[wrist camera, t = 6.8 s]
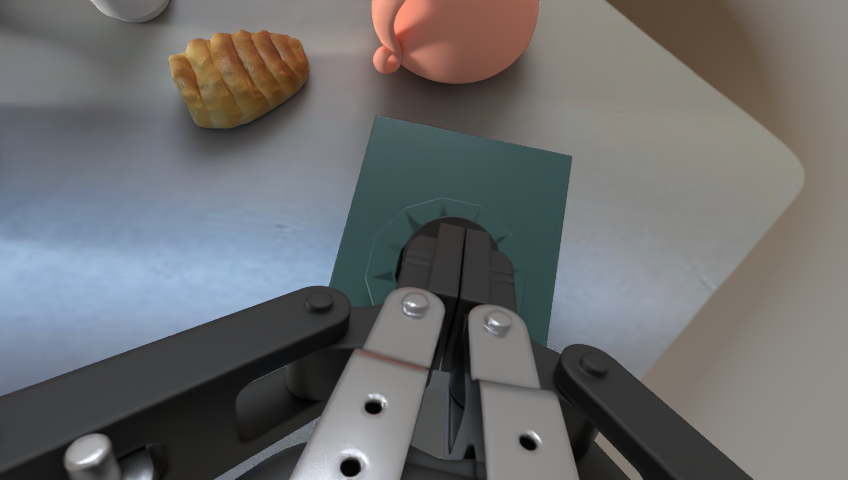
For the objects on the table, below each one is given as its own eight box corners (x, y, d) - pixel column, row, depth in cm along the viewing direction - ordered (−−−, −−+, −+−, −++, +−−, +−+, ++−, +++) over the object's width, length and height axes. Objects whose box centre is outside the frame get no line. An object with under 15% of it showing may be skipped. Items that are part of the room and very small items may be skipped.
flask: (497, 373, 29) (557, 382, 17) (347, 340, 29) (305, 326, 17) (522, 218, 31) (588, 135, 20) (386, 189, 32) (372, 90, 20)
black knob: (481, 328, 18) (492, 322, 15) (394, 308, 18) (392, 300, 15) (495, 244, 19) (509, 226, 16) (413, 226, 19) (414, 206, 16)
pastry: (293, 31, 35) (279, -8, 31) (325, 99, 33) (315, 67, 30) (177, 72, 34) (149, 37, 30) (206, 146, 32) (180, 118, 28)
